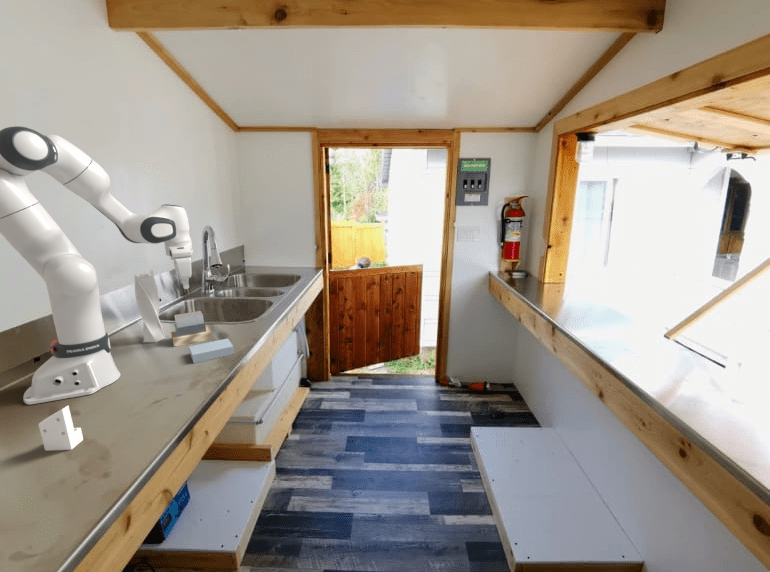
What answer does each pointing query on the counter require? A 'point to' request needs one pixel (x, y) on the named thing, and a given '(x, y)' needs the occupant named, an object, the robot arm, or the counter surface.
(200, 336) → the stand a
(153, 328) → the skyscraper
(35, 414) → the counter surface
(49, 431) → the white angled block
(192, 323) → the block
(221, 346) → the stand
